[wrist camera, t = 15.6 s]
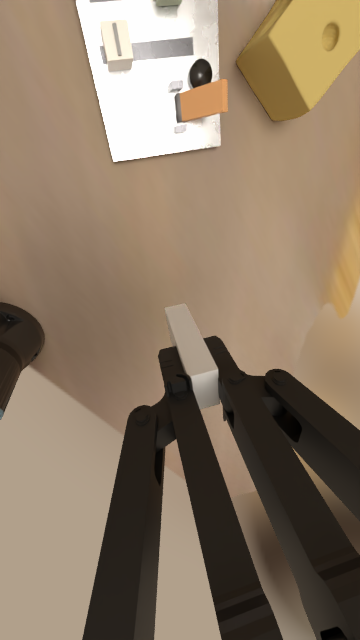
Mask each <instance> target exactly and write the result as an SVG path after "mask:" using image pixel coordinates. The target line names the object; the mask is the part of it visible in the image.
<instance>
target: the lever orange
mask: <svg viewBox="0 0 360 640" xmlns="http://www.w3.org/2000/svg"><path fill="white" fill-rule="evenodd" d="M175 97H176V107H177V117H178V123H181V122H186V121H190V120H195V119H199V118H203V117H207V116H211V115H216V114H220V113H224V112H228V111H227V80H226V79H220V80H217V81H214V82H211V83H208V84H205V85H202V86H199V87H196V88H193V89H190V90H187V91H184V92H181V93H177V94H175Z"/></svg>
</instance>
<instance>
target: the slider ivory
mask: <svg viewBox="0 0 360 640" xmlns="http://www.w3.org/2000/svg"><path fill="white" fill-rule="evenodd" d="M100 30H101V38H102V43H103V48H104V53H105V57H106V62H107V67H108V71H118V70H127V69H132V64H133V52H132V46H131V40H130V34H129V27H128V21H127V19H118V20H106V21H100Z"/></svg>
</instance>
